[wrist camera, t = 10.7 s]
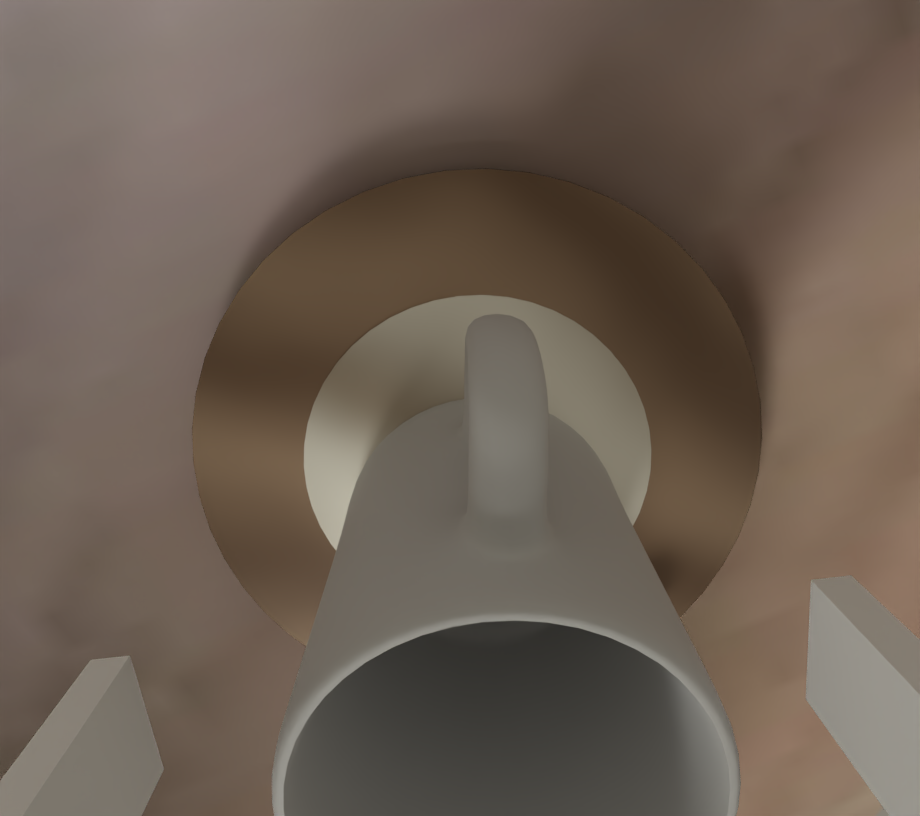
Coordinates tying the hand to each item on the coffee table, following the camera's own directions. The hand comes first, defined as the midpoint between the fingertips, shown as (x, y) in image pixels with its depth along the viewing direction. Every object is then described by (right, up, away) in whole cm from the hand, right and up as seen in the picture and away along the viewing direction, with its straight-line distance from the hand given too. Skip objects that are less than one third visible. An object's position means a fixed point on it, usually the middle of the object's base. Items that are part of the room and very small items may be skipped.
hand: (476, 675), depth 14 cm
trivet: (0, +4, +10) cm, 11 cm away
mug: (0, +3, +9) cm, 9 cm away
